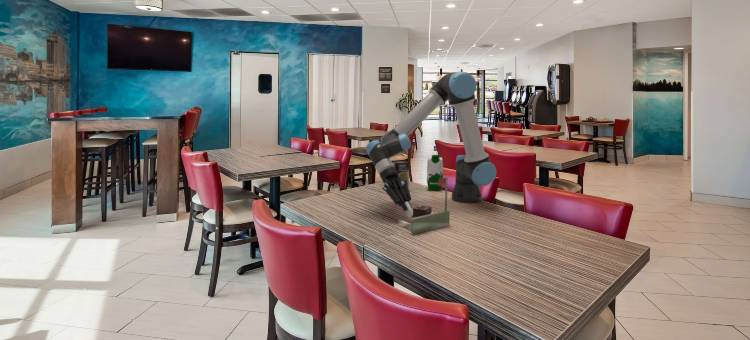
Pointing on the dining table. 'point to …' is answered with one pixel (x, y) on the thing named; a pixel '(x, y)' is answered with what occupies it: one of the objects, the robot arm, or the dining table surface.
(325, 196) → the dining table surface
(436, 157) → the milk carton
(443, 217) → the green bar with posts
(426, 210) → the box
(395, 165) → the coffee box
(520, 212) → the dining table surface
